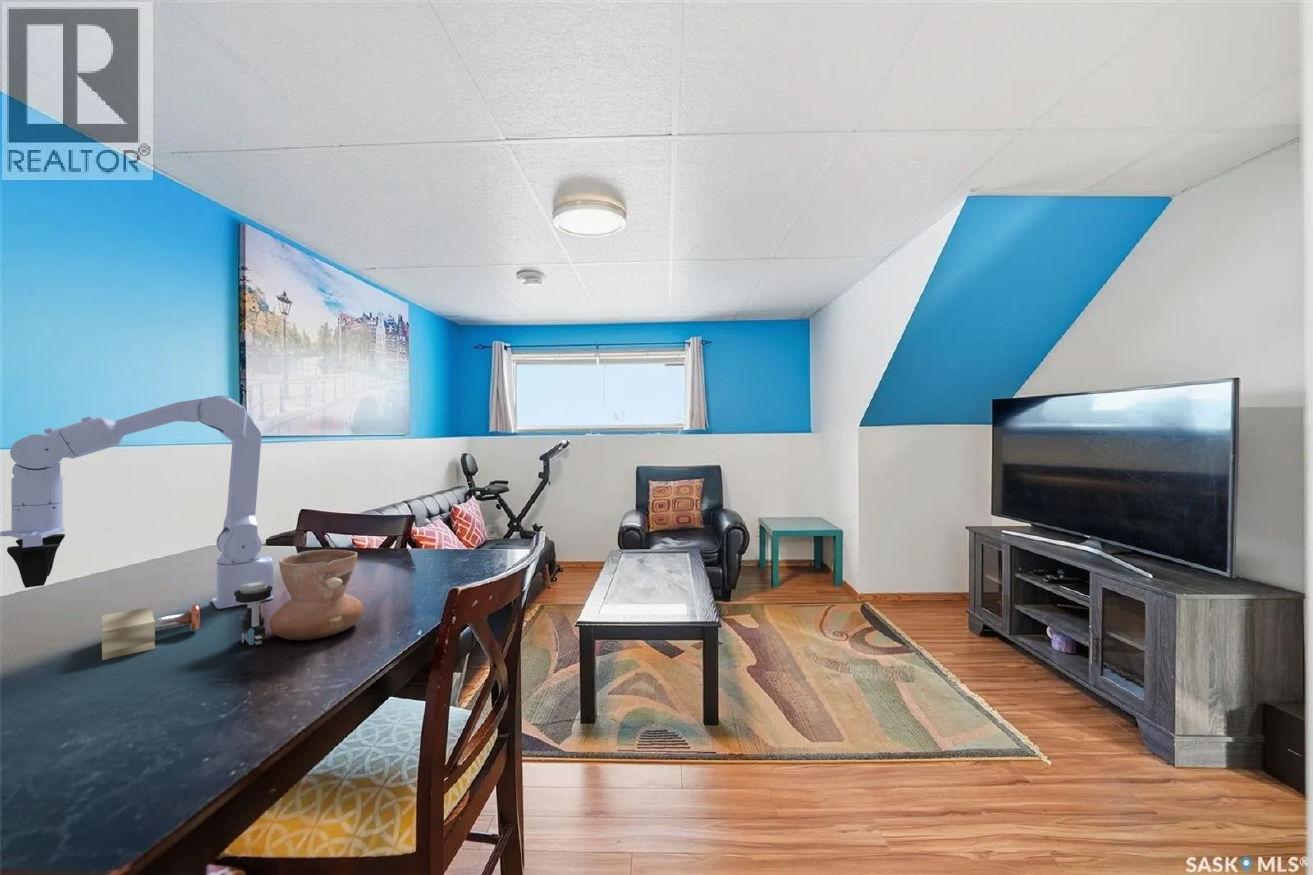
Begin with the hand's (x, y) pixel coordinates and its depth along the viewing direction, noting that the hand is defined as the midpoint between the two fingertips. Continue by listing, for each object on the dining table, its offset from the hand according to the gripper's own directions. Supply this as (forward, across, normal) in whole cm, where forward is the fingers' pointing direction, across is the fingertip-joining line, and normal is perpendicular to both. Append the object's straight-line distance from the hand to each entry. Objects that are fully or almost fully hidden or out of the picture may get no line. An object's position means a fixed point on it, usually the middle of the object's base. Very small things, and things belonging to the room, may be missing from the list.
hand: (37, 581), depth 89 cm
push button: (+10, +27, +26) cm, 39 cm away
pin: (+10, +14, +14) cm, 22 cm away
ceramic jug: (+10, +29, +36) cm, 47 cm away
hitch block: (+10, +14, +11) cm, 21 cm away
